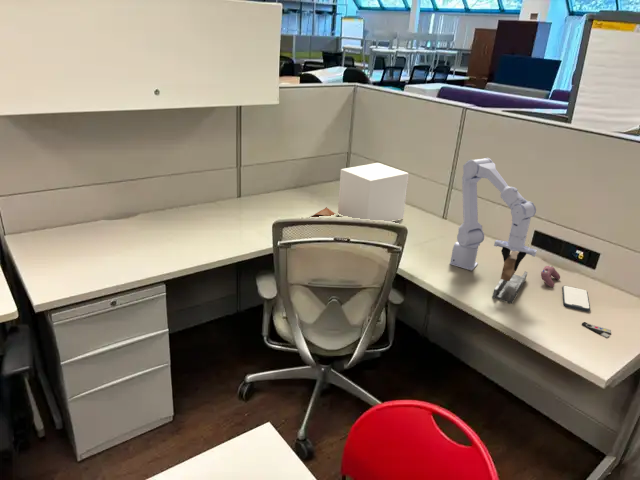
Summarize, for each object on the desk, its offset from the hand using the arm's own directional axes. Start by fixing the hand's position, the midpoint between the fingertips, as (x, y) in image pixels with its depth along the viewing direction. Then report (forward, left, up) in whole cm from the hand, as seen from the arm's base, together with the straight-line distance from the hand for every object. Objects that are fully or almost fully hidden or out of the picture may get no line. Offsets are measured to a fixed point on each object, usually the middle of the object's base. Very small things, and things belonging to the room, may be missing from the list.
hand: (510, 268), depth 182 cm
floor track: (+1, +1, -9) cm, 9 cm away
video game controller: (+12, +16, -9) cm, 22 cm away
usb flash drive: (+32, -9, -9) cm, 35 cm away
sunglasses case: (-92, +14, -9) cm, 93 cm away
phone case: (+23, +8, -9) cm, 26 cm away
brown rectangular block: (0, 0, -2) cm, 2 cm away
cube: (-75, +32, -9) cm, 82 cm away
